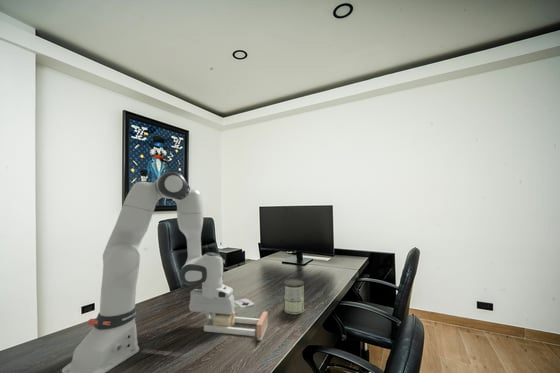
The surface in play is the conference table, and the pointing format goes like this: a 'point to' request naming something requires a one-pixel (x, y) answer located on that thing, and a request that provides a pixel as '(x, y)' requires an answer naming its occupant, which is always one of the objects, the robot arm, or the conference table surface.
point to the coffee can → (293, 296)
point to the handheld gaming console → (244, 303)
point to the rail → (260, 323)
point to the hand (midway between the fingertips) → (211, 322)
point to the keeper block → (224, 320)
